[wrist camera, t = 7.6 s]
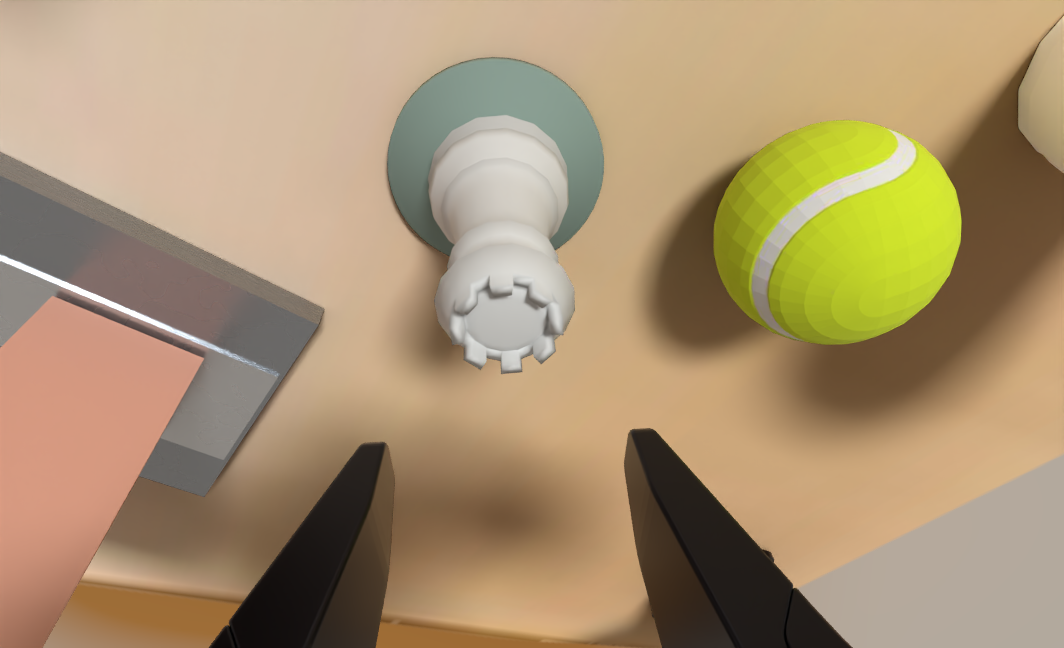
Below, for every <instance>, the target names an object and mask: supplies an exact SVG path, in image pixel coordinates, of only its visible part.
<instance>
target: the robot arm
mask: <svg viewBox="0 0 1064 648" xmlns="http://www.w3.org/2000/svg"><path fill="white" fill-rule="evenodd" d="M624 469H625V478H626V484H627V491H628V497H629V504H630V511H631V517H632V524H633V531H634V537H635V544H636V549H637V555H638V559H639V564H640V568H641V572H642V575H643V579H644V583H645V586H646V590H647V594H648V597H649V601H650V605H651V611H652V616H653V618H654V619H655V623H656V627H657V630H658V634H659V638H660V641H661V645H662V648H852V647H851V646H850V645H849V644H848V643H847V642H846V641H845V640H844V639H843V638H842V637H841V636H840V635H839V634H838V633H837V632H836V630H834V628H833V627H832V626H831V625H830V624H829V623H828V622H827V621H826V620H825V619H824V618H823V617H822V615H821V614H820V613H819V612H818V611H817V610H816V609H815V608H814V607H813V606H812V605H811V604H810V602H808V600H807V599H806V598H805V597H804V596H803V595H802V594H801V592H800V591H799V590H798V589H797V588H793V584H792V583H791V581H790V580H789V579H788V578H787V577H786V576H785V575H784V574H783V573H782V571H781V570H780V569H779V568H778V567H777V566H776V565H775V564H774V558H773V556H772V553H771V552H769V551H763V550H762V549H761V548H760V547H759V546H758V545H757V544H756V542H755V541H754V540H753V539H752V538H751V537H750V536H749V535H748V533H747V532H746V531H745V530H744V529H743V528H742V527H741V526H740V525H739V523H738V522H737V521H736V520H735V519H734V518H733V517H732V516H731V515H730V513H729V512H728V511H727V510H726V509H725V508H724V507H723V506H722V504H721V503H720V502H719V501H718V500H717V499H716V498H715V497H714V496H713V494H712V493H711V492H710V491H709V490H708V489H707V488H706V487H705V486H704V484H703V483H702V482H701V481H700V480H699V479H698V478H697V477H696V476H695V474H694V473H693V472H692V471H691V470H690V469H689V468H688V467H687V465H686V464H685V463H684V462H683V461H682V460H681V459H680V458H679V457H678V455H677V454H676V453H675V452H674V451H673V450H672V449H671V448H670V447H669V445H668V444H667V443H666V442H665V441H664V440H663V439H662V438H661V436H660V435H659V434H658V433H657V432H656V431H655V430H653V429H650V428H645V429H632V430H630V432H629V434H628V439H627V446H626V453H625V460H624ZM394 487H395V478H394V470H393V466H392V461H391V457H390V452H389V448H388V445H387V444H386V443H385V442H370V443H363V444H362V445H360V446H359V447H358V449H357V450H356V452H355V453H354V454H353V456H352V457H351V458H350V460H349V461H348V462H347V464H346V465H345V466H344V468H343V469H342V470H341V472H340V473H339V474H338V476H337V477H336V478H335V480H334V481H333V482H332V484H331V485H330V486H329V488H328V489H327V490H326V492H325V493H324V494H323V496H322V497H321V498H320V500H319V501H318V502H317V504H316V505H315V506H314V508H313V509H312V510H311V512H310V513H309V514H308V516H307V517H306V518H305V520H304V521H303V522H302V524H301V525H300V527H299V528H298V529H297V531H296V532H295V533H294V535H293V536H292V537H291V539H290V540H289V541H288V543H287V544H286V545H285V547H284V548H283V549H282V551H281V552H280V553H279V555H278V556H277V557H276V559H275V560H274V561H273V563H272V564H271V565H270V567H269V568H268V569H267V571H266V572H265V573H264V575H263V576H262V577H261V579H260V580H259V581H258V583H257V584H256V585H255V587H254V588H253V589H252V591H251V592H250V593H249V595H248V596H247V598H246V599H245V600H244V602H243V603H242V604H241V606H240V607H239V608H238V610H237V611H236V612H235V614H234V615H233V616H232V618H231V619H230V620H229V625H230V626H228V625H227V626H225V627H224V628H223V629H222V631H221V632H220V633H219V635H218V636H217V637H216V639H215V640H214V641H213V643H212V644H211V645H210V647H209V648H375V647H376V642H377V636H378V631H379V625H380V620H381V614H382V609H383V604H384V598H385V593H386V587H387V581H388V574H389V565H390V553H391V536H392V520H393V504H394Z"/></svg>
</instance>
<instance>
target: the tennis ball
mask: <svg viewBox="0 0 1064 648" xmlns="http://www.w3.org/2000/svg"><path fill="white" fill-rule="evenodd" d="M961 223H962V221H961V213H960V207H959V202H958V198H957V194H956V190H955V188H954V186H953V184H952V183H951V181H950V179H949V177H948V176H947V174H946V172H945V171H944V169H943V167H942V166H941V164H940V162H939V161H938V160H937V159H936V158H935V157H934V156H933V155H932V154H930V153H929V152H928V151H927V150H926V149H925V148H924V147H923V146H922V145H921V144H919V143H918V142H917V141H915V140H913V139H911V138H910V137H908V136H906V135H904V134H902V133H900V132H897V131H894V130H891V129H888V128H884V127H882V126H879V125H876V124H873V123H867V122H861V121H852V120H836V121H827V122H820V123H816V124H812V125H809V126H806V127H803V128H801V129H798V130H795V131H793V132H790V133H787V134H785V135H784V136H782V137H780V138H778V139H777V140H775V141H773V142H771V143H770V144H768V145H767V146H765V147H764V148H763V149H762V150H760V151H759V152H758V153H757V154H755V155H754V156H753V157H751V159H750V160H749V161H748V162H747V163H746V164H745V165H744V166H743V167H742V168H741V169H740V170H739V171H738V173H737V174H736V176H735V177H734V179H733V180H732V182H731V183H730V185H729V186H728V188H727V189H726V191H725V194H724V196H723V198H722V200H721V203H720V205H719V207H718V210H717V214H716V219H715V223H714V257H715V261H716V265H717V269H718V272H719V275H720V277H721V280H722V282H723V284H724V286H725V288H726V290H727V291H728V293H729V295H730V296H731V297H732V299H733V300H734V301H735V302H736V304H737V305H738V306H739V307H740V308H741V309H742V310H743V311H744V312H745V314H746V315H747V316H748V317H750V318H751V319H753V320H754V321H756V322H757V323H759V324H760V325H762V326H763V327H765V328H766V329H768V330H770V331H771V332H773V333H775V334H778V335H781V336H784V337H787V338H790V339H793V340H798V341H805V342H809V343H816V344H823V345H834V344H849V343H855V342H861V341H864V340H867V339H870V338H874V337H877V336H879V335H881V334H884V333H886V332H888V331H890V330H892V329H894V328H896V327H898V326H900V325H902V324H904V323H905V322H907V321H908V320H909V319H910V318H912V317H913V316H914V315H915V314H917V313H918V312H919V311H920V310H921V309H923V308H924V307H925V306H926V305H927V304H929V303H930V301H931V300H932V299H933V297H934V296H935V295H936V293H937V292H938V291H939V289H940V288H941V286H942V285H943V284H944V282H945V281H946V279H947V278H948V276H949V275H950V272H951V269H952V267H953V264H954V261H955V258H956V255H957V252H958V248H959V245H960V242H961Z"/></svg>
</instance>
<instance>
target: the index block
mask: <svg viewBox="0 0 1064 648" xmlns="http://www.w3.org/2000/svg"><path fill="white" fill-rule="evenodd" d="M203 360H204V358H202V357H200V356H197V355H195V354H192V353H190V352H188V351H185V350H183V349H180V348H178V347H175V346H173V345H171V344H168V343H166V342H163V341H161V340H158V339H156V338H154V337H151V336H149V335H146V334H144V333H141V332H139V331H137V330H134V329H132V328H129V327H127V326H124V325H122V324H120V323H117V322H115V321H112V320H110V319H107V318H105V317H103V316H100V315H98V314H95V313H93V312H90V311H88V310H86V309H83V308H81V307H78V306H76V305H73V304H71V303H69V302H66V301H64V300H61V299H59V298H56V297H54V296H52V297H51V298H50V299H49V300H48V301H47V302H46V303H45V304H44V305H43V306H42V307H41V308H40V309H39V310H38V311H37V312H36V313H35V314H34V315H33V316H32V317H31V318H30V319H29V320H28V321H27V322H26V323H25V324H24V325H23V326H22V327H21V328H20V329H19V330H18V331H17V332H16V333H15V334H14V335H13V336H12V337H11V338H10V339H9V340H8V341H7V342H6V343H5V344H4V345H3V346H2V347H1V348H0V648H43V646H44V644H45V642H46V640H47V639H48V637H49V635H50V633H51V632H52V630H53V628H54V626H55V624H56V623H57V621H58V619H59V617H60V616H61V614H62V612H63V610H64V608H65V607H66V605H67V603H68V601H69V600H70V598H71V596H72V594H73V592H74V591H75V589H76V587H77V585H78V584H79V582H80V580H81V578H82V576H83V575H84V573H85V571H86V569H87V567H88V566H89V564H90V562H91V560H92V559H93V557H94V555H95V553H96V551H97V550H98V548H99V546H100V544H101V543H102V541H103V539H104V537H105V535H106V534H107V532H108V530H109V528H110V527H111V525H112V523H113V521H114V519H115V518H116V516H117V514H118V512H119V511H120V509H121V507H122V505H123V503H124V502H125V500H126V498H127V496H128V494H129V493H130V491H131V489H132V487H133V486H134V484H135V482H136V480H137V478H138V477H139V475H140V473H141V471H142V470H143V468H144V466H145V464H146V462H147V461H148V459H149V457H150V455H151V454H152V452H153V450H154V448H155V446H156V445H157V443H158V441H159V439H160V437H161V436H162V434H163V432H164V430H165V428H166V427H167V425H168V423H169V421H170V419H171V418H172V416H173V414H174V412H175V410H176V409H177V407H178V405H179V403H180V401H181V400H182V398H183V396H184V394H185V392H186V391H187V389H188V387H189V385H190V383H191V381H192V380H193V378H194V376H195V374H196V372H197V371H198V369H199V367H200V365H201V363H202V362H203Z"/></svg>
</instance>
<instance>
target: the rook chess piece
mask: <svg viewBox="0 0 1064 648" xmlns="http://www.w3.org/2000/svg"><path fill="white" fill-rule="evenodd" d="M428 181H429V190H428V192H429V197H430V203H431V208H432V214H433V217H434V219H435V221H436V222H437V224H438V225H439V227H440V228H441V230H442V231H443V233H444V234H445V236H446V237H447V239H448V240H449V241H450V242H451V243H453V244H454V245H455V246H454V247H453V248H452V251H451V255H450V258H449V261H448V265H447V269H448V271H447V272H446V273H445V274H444V275H443V276H442V277H441V279H440V282H439V286H438V289H437V292H436V296H435V299H434V303H435V308H436V313H437V318H438V323H439V324H440V325H441V327H442V328H443V329H444V331H445V332H446V333H447V334H448V336H449V337H450V338H451V341H452V345H455V344H458V345H460V346H462V347H463V348H464V360H465V361H466V362H468V363H470V364H472V365H473V366H475V367H477V368H478V369H480V370H481V369H482V367H483V366H484V364H485V363H486V358H489V359H494V360H498V361H501V374H506V373H517V372H522V363H521V359H523V358H525V357H527V356H530V355H532V354H533V355H534V358H535V359H536V360H537V361H539V362H540V363H541V364H542V363H543V362H544V361H545V360H547V359H548V358H549V357H550V356H551V355H552V354H553V353H554V352H556V350H555V343H554V340H555V339H557V338H558V337H559V336H560V335H563V332H564V331H565V330H566V328H567V326H568V324H569V322H570V319H571V317H572V315H573V313H574V311H575V300H574V287H573V285H572V283H571V281H570V279H569V278H568V276H567V274H566V272H565V270H564V269H563V267H562V266H561V265H559V264H558V255H557V254H556V252H555V250H554V248H553V246H552V244H551V243H550V241H549V240H550V239H551V237H552V236H553V235H554V234H555V233H556V232H557V231H558V229H559V227H560V224H561V222H562V219H563V217H564V214H565V212H566V210H567V207H568V204H569V198H568V177H567V165H566V163H565V161H564V159H563V157H562V155H561V153H560V151H559V149H558V146H557V144H556V142H555V141H554V140H552V139H551V138H550V137H549V136H548V135H547V134H545V133H544V132H543V131H542V130H541V129H540V128H538V127H537V126H536V125H535V124H533V123H530V122H527V121H524V120H520V119H517V118H514V117H511V116H508V115H501V116H489V117H478V118H475V119H473V120H471V121H470V122H468V123H466V124H464V125H462V126H460V127H458V128H456V129H454V130H453V131H451V132H450V134H449V135H448V136H447V137H446V139H445V140H444V141H443V142H442V144H441V145H440V146H439V147H438V149H437V150H436V151H435V152H434V156H433V160H432V164H431V168H430V172H429V176H428Z"/></svg>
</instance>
